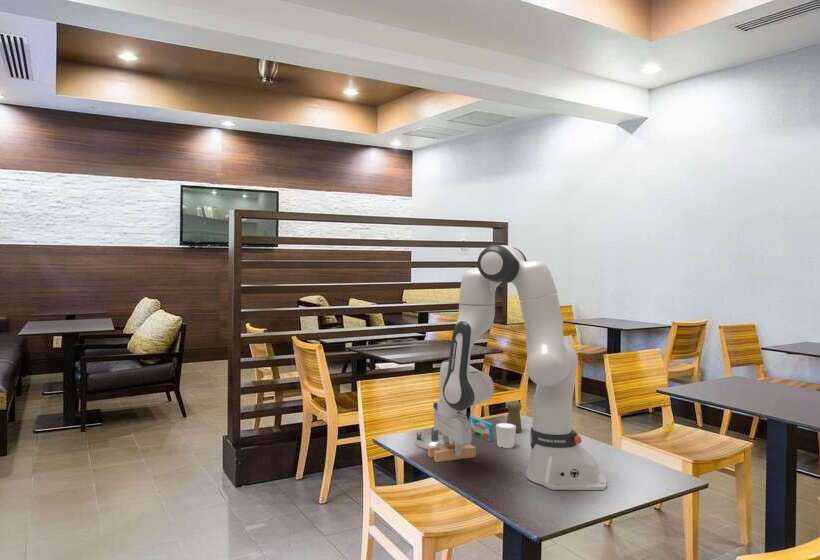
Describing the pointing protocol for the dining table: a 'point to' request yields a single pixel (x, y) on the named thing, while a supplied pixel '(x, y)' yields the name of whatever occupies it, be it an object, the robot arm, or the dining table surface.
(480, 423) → the blue printed cardboard box
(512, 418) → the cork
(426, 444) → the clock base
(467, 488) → the dining table surface
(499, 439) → the white cylindrical downlight
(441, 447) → the orange letter a block
